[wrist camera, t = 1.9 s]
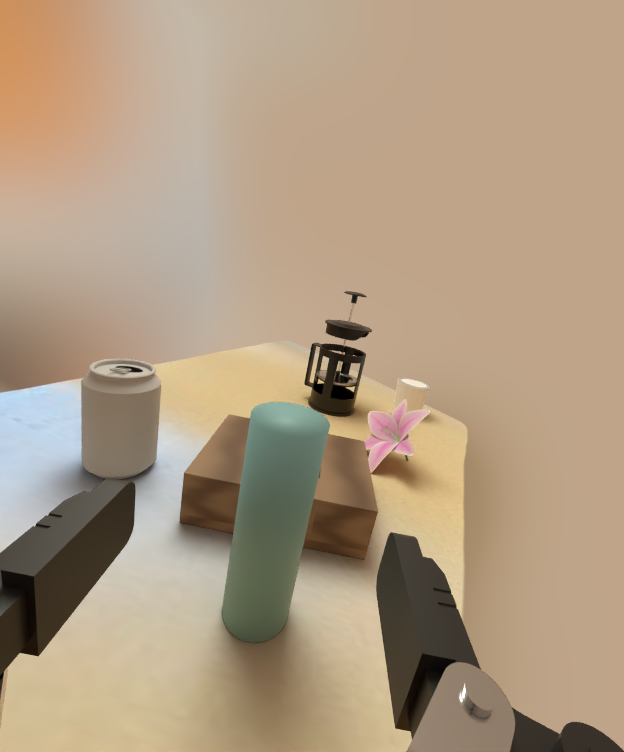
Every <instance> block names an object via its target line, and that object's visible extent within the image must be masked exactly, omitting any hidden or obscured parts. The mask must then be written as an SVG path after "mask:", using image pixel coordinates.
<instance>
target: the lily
mask: <svg viewBox="0 0 624 752" xmlns="http://www.w3.org/2000/svg"><path fill="white" fill-rule="evenodd" d="M406 409H407V400H406V399H404V400H403V401H402V402H401V403H400V404H399V405H398V406H397V407H396V408H395V409H394V411H393V412H392V414H391V415H390V414H389V413H386V412H383V411H370V412H369V413H368V425H369V428H370V431H371V433H372V434H371V435H370V436H369V437H368V438H366V439H365V440H364V441H365V446H366V450H369V449H371V450H370V453H369V459H368V462H369V468H370V473H372V472H373V471H374V470H375V469H376V467H377V466H378V465H379V464H380V462H381V461H382V460H383V459H384V458H385V457H386V456H387V455H388V453H389V452H390V451H394V452H397V453H400V454H404V455H405V457H406V460H407V461H408V458H407V455H408V456H413V455H414V451H413V447H412V444H411V440H410V438H409V435H408V433H409V432H410V431H411V430H412V429H413V428H414V427H415V426H416V425H417V424H418V423H419V422H420V421H422V420H423V419H424V418H425V417H426V416H427V415H428V414H429V413H430V410H425V409H424V410H414V411H409V412H407V413H406Z"/></svg>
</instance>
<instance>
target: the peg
mask: <svg viewBox="0 0 624 752" xmlns="http://www.w3.org/2000/svg"><path fill="white" fill-rule="evenodd" d="M329 427H330V424H329V421H328V420H327V418H326V417H325V416H323V415H322V414H320V413H319V412H317V411H315V410H313V409H311V408H308V407H305V406H302V405H298V404H292V403H285V402H270V403H264V404H261V405H258V406H256V407H255V408H253V410H252V411H251V417H250V423H249V430H248V437H247V444H246V450H245V457H244V464H243V471H242V477H241V484H240V491H239V498H238V505H237V511H236V518H235V525H234V532H233V538H232V545H231V552H230V559H229V566H228V572H227V579H226V586H225V593H224V599H223V606H222V617H223V621H224V624H225V626H226V627H227V629H228V630H229V631H230V632H231V634H233V635H234V636H235V637H237V638H238V639H240V640H243V641H246V642H252V643H258V642H264V641H267V640H269V639H271V638H273V637H275V636H276V635H277V634H278V633H279V632H280V631H281V630H282V629H283V627H284V625H285V623H286V621H287V617H288V613H289V608H290V604H291V599H292V595H293V590H294V586H295V581H296V577H297V572H298V567H299V563H300V558H301V554H302V549H303V545H304V540H305V536H306V531H307V527H308V522H309V518H310V513H311V508H312V504H313V499H314V495H315V490H316V486H317V481H318V477H319V472H320V468H321V463H322V459H323V454H324V450H325V445H326V440H327V436H328V431H329Z"/></svg>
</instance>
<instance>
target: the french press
mask: <svg viewBox="0 0 624 752" xmlns="http://www.w3.org/2000/svg"><path fill="white" fill-rule="evenodd" d="M345 293H347V294H351V295H352V301H351V302H352V303H353V304H352V309H351V313H350V318H349V322H348V321H341V320H326V321H325V322H326V323H327V328H326V333H327V334H329V335H332V336H335V337H338V338H342V339H345V340H344V345H337V344H319V343H313V344H312V347H311V352H310V357H309V362H308V367H307V373H306V378H305V385H307V386H310V387H312V392H311V397H310V398H309V401H308V402H309V405H310V406H311V407H312V408H313V409H315V410H317V411H319V412H321V413H325V414H328V415H333V416H348V415H351V414H352V413H353V412H354V403H355V399H356V395H357V391H358V387H359V382H360V378H361V374H362V370H363V366H364V361H365V357H366V354H365V353H364V352H362V351H360V350H357V349H355V348H351V347H347V346H345V344H346V340H357V339H359V338H361V337H366V336H367V335H368V334H369V332H371V331H372V330H371V329H370V328H368V327H365V326H362V325H359V324H356V323H352V322H350V321H351V316H352V312H353V307H354V303H356V301H357V297H358V296H362V297H366V296H365V295H363V294H360V293H356V292H350V291H347V292H345ZM316 346H318V347H320V353H319V358H318V363H317V368H316V373H315V378H314V383H310V382H309V380H310V375H311V370H312V365H313V360H314V355H315V350H316ZM329 350H335V351H341V352H342V354H339V353H335V352H332V351H329ZM344 352H345V355H343V353H344ZM353 355H355V356H353ZM323 356H325V357H328V358H329V363H328V368H327V370H320V368H321V363H322V358H323ZM338 361H340V363H339V368H338V371H336V369H337V365H338ZM341 362H343V364H342V369H341V372H340V367H341ZM351 363H361V365H360V370H359V373H358V378H357V379H356V378H355V377H353V376H351V375H349V370H350V366H351ZM318 378H319V379H320V380H322V381H323V382H324V383H322V384H317V383H318ZM353 386H355V390H354V392H352V391H351V390H349V389H347V388H346V387H353Z"/></svg>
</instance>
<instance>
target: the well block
mask: <svg viewBox="0 0 624 752" xmlns="http://www.w3.org/2000/svg"><path fill="white" fill-rule="evenodd" d="M249 423H250V419H249V418H244V417H239V416H234V415H228V416H227V418H226V419H225V420H224V421H223V423H222V424H221V425H220V427H219V428H218V429H217V431H216V432H215V433H214V435H213V436H212V437H211V438H210V440H209V441H208V442H207V444H206V445H205V446H204V448H203V449H202V450H201V452H200V453H199V454H198V455H197V457H196V458H195V459H194V461H193V462H192V463H191V465H190V466H189V467H188V469H187V470H186V471H185V472H184V480H183V490H182V501H181V512H180V523H185V524H189V525H194V526H199V527H204V528H209V529H214V530H219V531H224V532H229V533H233V532H234V525H235V518H236V511H237V505H238V498H239V491H240V484H241V477H242V471H243V464H244V457H245V450H246V444H247V437H248V430H249ZM377 513H378V510H377V505H376V499H375V494H374V489H373V483H372V478H371V473H370V468H369V462H368V457H367V452H366V446H365V441H360V440H355V439H350V438H345V437H340V436H335V435H330V434H328V436H327V440H326V445H325V450H324V454H323V459H322V463H321V468H320V472H319V477H318V481H317V486H316V490H315V495H314V499H313V504H312V508H311V513H310V518H309V522H308V527H307V531H306V536H305V540H304V545H303V547H304V548H309V549H314V550H319V551H324V552H329V553H334V554H339V555H344V556H348V557H353V558H358V559H363V560H364V558H365V555H366V551H367V548H368V544H369V541H370V537H371V534H372V530H373V527H374V523H375V520H376V516H377Z"/></svg>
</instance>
